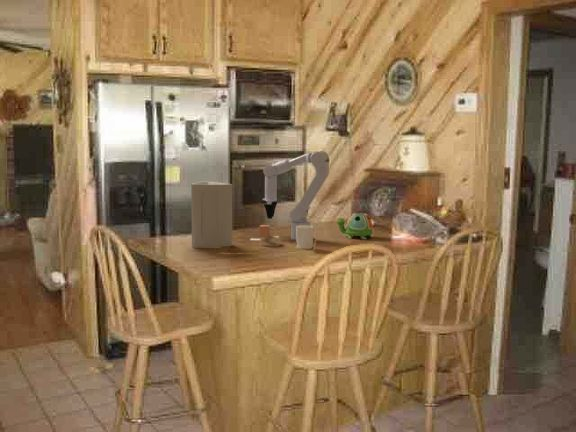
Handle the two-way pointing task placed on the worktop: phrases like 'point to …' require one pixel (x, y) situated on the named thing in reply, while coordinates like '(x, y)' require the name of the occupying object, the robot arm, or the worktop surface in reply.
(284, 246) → the worktop surface
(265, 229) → the rust block
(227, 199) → the ribbed grey pillar
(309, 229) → the white cup
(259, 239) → the build board
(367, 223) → the turtle holder
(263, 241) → the maple brick
